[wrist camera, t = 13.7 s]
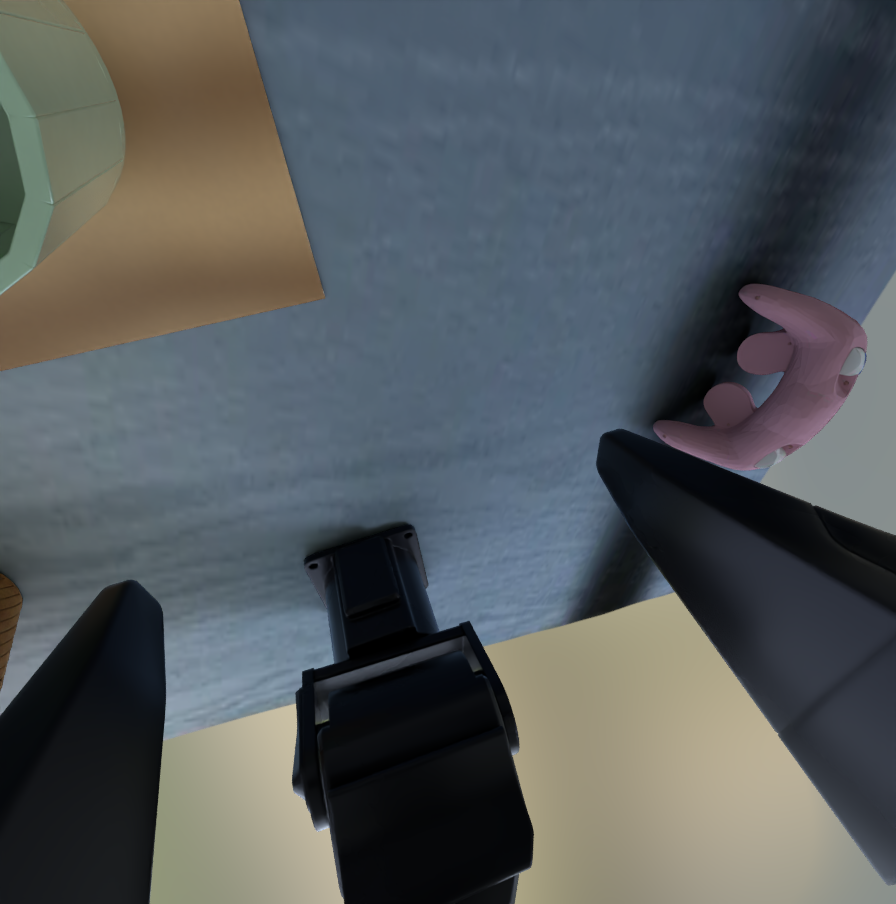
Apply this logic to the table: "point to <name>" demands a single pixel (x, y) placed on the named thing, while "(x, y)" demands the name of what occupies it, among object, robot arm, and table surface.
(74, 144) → the glazed cup
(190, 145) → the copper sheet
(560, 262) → the table surface
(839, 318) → the video game controller
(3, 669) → the disposable coffee cup
